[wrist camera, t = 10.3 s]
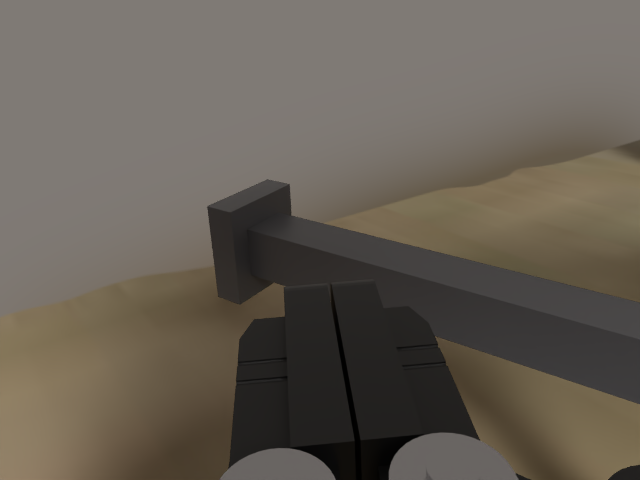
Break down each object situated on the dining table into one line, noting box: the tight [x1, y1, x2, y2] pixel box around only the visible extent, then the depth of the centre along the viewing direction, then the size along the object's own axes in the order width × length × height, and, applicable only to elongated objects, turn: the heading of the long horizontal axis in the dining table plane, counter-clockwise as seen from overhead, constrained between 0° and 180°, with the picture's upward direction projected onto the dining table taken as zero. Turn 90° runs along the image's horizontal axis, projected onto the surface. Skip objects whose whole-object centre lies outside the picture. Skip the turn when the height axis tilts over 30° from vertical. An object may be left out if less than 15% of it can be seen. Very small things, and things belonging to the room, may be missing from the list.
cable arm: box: [207, 180, 640, 404], centre depth 18 cm, size 23×4×4 cm, turn 55°
